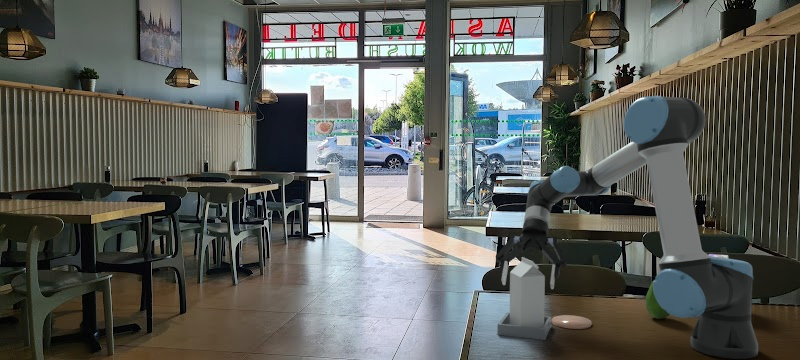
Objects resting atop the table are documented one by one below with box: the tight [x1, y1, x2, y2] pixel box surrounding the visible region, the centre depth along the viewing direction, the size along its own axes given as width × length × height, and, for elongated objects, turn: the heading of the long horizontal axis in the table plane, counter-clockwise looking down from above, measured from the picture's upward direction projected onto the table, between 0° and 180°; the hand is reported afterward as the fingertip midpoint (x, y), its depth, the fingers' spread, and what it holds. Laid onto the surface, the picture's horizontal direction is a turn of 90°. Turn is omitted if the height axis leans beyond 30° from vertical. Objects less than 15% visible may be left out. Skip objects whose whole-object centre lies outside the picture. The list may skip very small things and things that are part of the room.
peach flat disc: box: [551, 314, 593, 330], centre depth 182 cm, size 11×11×1 cm
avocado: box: [645, 280, 671, 320], centre depth 186 cm, size 8×8×12 cm
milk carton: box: [509, 256, 546, 328], centre depth 174 cm, size 7×7×19 cm
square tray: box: [496, 312, 553, 341], centre depth 175 cm, size 13×13×3 cm
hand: (527, 284), depth 178 cm, fingers open, 13 cm apart
